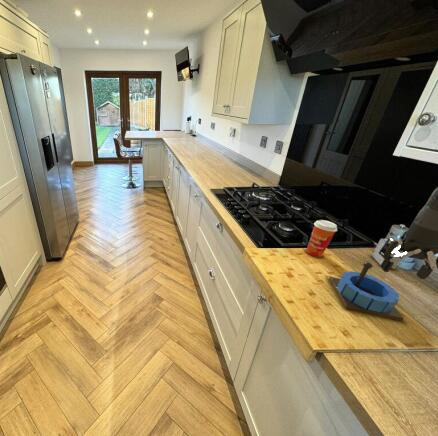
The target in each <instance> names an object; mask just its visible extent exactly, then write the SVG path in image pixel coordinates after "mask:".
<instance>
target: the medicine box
mask: <svg viewBox="0 0 438 436" xmlns="http://www.w3.org/2000/svg"><path fill="white" fill-rule="evenodd" d="M387 240H388V238H380V239H379V241H378V243H377V245H376V247H375V248H374V250H373V252H372V254H371V256H372V257H373V259H374V260H375V261H376V262H377V263H378V264H379V265H380V266H381V264H382V262H383V261H384V258H383V257H382V256H381V255H380V254H379V251H380V250H381V248H382V247H383V245H384V244H385V242H386V241H387ZM398 247H400V245H399V246H398ZM398 247H397V248H398ZM395 249H396V248H395ZM400 253H401V254H403V252H402V251H401V252H400ZM395 256H396V255H395ZM401 260H402V259H399V260H397V261H394V264H393V266H392V267H391V269H393V270H394V269H395V270H396V268H397V267H398V264H399V263H400V261H401Z"/></svg>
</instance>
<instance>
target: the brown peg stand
mask: <svg viewBox="0 0 438 436" xmlns="http://www.w3.org/2000/svg"><path fill="white" fill-rule="evenodd" d="M362 266H363V267H362V269H361V270H360V272H359V273H360V275H359V276H358V278H357V280H356V282H355V284H354V286H356V287H357V288H359V289H360V290H362V291H364V292H366V293H369V294H371V295H375V296H378V295H376V294H375V293H373V292H372V291H370V290H368V289H365V288H363V287H360V286H359V285H360V283H361V282H362V280H363V278H364V276H365V275H366V274H367V273H368V271H369V269H372V268H373V264H372V263H371V262H369V261H365V262H363V263H362ZM328 280H329V282H330V284H331V286H332V288H333V289H334V292H336V294H337V296H338V298H339V300H340V301H341V303H342V305H343V306H344V308H345V309H347V310H351V311H356V312H360V313H364V314H369V315H373V316H377V317H382V318H386V319H391V320H396V321H400V322H403V320H404V319H405V318H404V317H403V315H402V314H401V312H399V310H398V308H396V306H394V308H393V309H392V311H389V312H376V311H372V310H368V309H367V308H366V309H365V308H363V307H361V306H359V305H356V304H354V303H353V302H354V301H352V302H351V301H350V300H348V299H347V298H346V297H344V296H343V295H342V293H340V291H339V290H338V288H337V284H338V282H339V280H340V278H339V277H334V276H329V278H328Z"/></svg>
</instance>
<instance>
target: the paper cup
mask: <svg viewBox="0 0 438 436" xmlns="http://www.w3.org/2000/svg"><path fill="white" fill-rule="evenodd" d="M313 225H314V226H313V228H312V232H311V235H310V238H309V241H308V244H307V246H306V247H307V248H306V253H307V254H308V255H310V256H311V257H314V258H321V257H323V255H324V253H325V252H326V250H327V248H328V246H329V244H330V242H331V241H332V239H333V237H334V235H335V233H336V232H338V225H337V224H336V223H334V222H332V221H329V220H324V219H319V220H316V221H315V222H313Z"/></svg>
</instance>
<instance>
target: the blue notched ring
mask: <svg viewBox="0 0 438 436" xmlns="http://www.w3.org/2000/svg"><path fill="white" fill-rule="evenodd" d="M360 273H361V272H358V271H344V272H343V273H342V275H341V277H340V278H339V279H340V280H339V282H338V284H337V288H338V290H339V291H340V293H342V295H343V296H344V297H346V298H347V299H348V300H350V301H351V302H352V301H354V302H353V303H354V304H356V305H359V306H361V307H363V308H365V309H366V308H367V309H368V310H372V311H376V312H389V311H392V309H393V308H394V307H396V305H397V303H399V299H400V295H399V293H398V291H396V290H395V289H394V287H391V285H389V284H388V283H386V282H384V281H383V280H381V279H379V278H377V277H374V276H372V275H370V274H367V273H366V275H365V276H364V278H363V280H362V282H361V283H360V285H359V286H360V287H363V288H365V289H368V290H370V291H372V292H373V293H375V294H376V295H378V296H375V295H371V294H369V293H366V292H364V291H362V290H360V289H359V288H357V287H356V286H354V284H355V282H356V280H357V278H358V276H359V275H360Z"/></svg>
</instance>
